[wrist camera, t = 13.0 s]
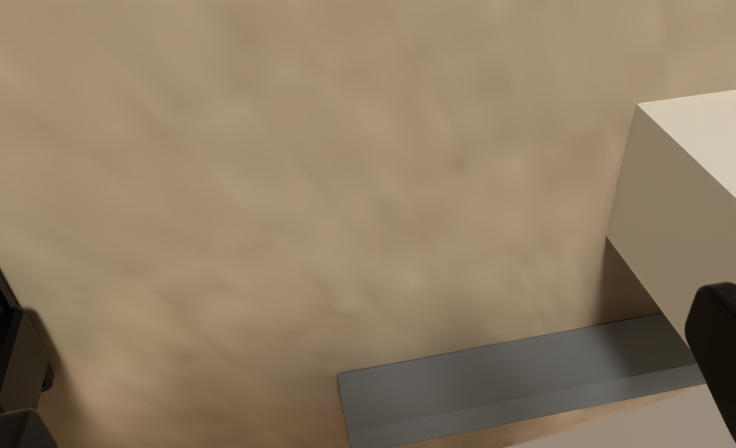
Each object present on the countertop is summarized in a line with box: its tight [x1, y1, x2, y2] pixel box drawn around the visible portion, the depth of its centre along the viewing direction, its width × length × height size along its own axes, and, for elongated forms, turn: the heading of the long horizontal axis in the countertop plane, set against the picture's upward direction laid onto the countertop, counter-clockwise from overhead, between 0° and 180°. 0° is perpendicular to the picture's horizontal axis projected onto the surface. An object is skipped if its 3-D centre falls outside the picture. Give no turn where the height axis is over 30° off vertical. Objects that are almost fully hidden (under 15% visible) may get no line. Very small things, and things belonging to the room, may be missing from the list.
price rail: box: [337, 313, 706, 448], centre depth 30 cm, size 22×2×3 cm, turn 93°
